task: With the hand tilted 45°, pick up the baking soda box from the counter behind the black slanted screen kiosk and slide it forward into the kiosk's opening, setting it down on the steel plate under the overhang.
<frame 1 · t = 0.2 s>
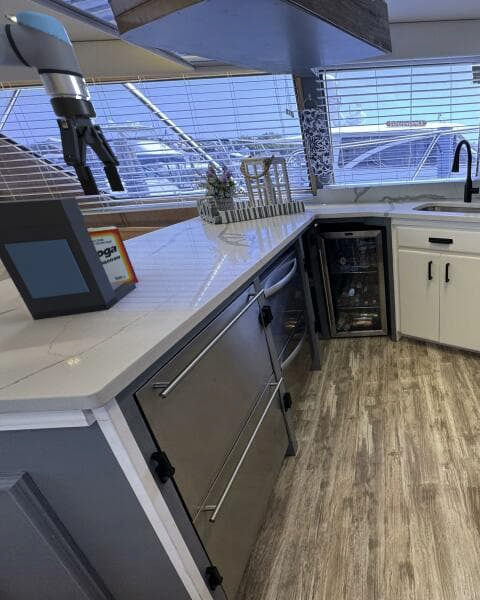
hand: (106, 193, 84), 25 cm above the worktop, tool pointing down, fingers open, 13 cm apart
slanted screen kiosk: (90, 301, 81), on the worktop
baking soda box: (116, 284, 93), on the worktop
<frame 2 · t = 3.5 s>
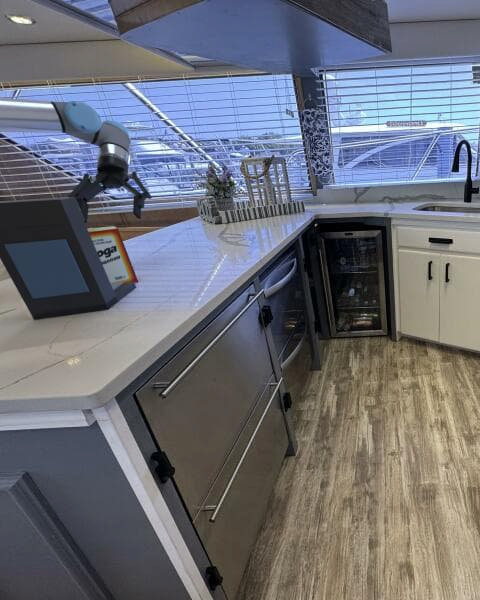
hand: (110, 218, 95), 17 cm above the worktop, tool tilted 45°, fingers open, 13 cm apart
nothing on the worktop moved.
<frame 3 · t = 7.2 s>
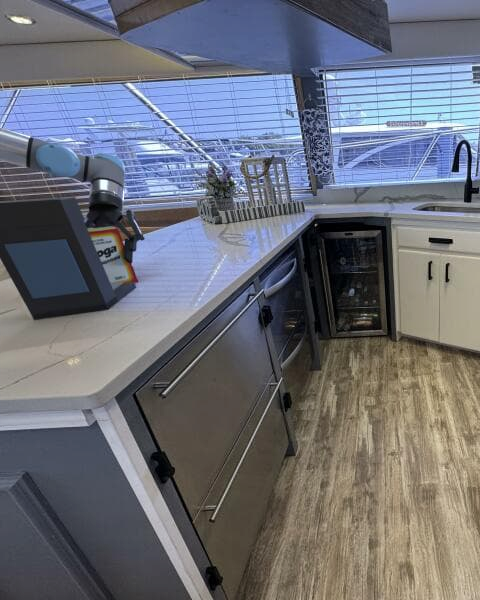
hand: (102, 263, 88), 7 cm above the worktop, tool tilted 45°, fingers closed on baking soda box, 11 cm apart
baking soda box: (116, 284, 93), on the worktop, touching gripper
when the fingers open (9 cm above the worktop, at t = 13.9 s): baking soda box stays where it is, resting on slanted screen kiosk.
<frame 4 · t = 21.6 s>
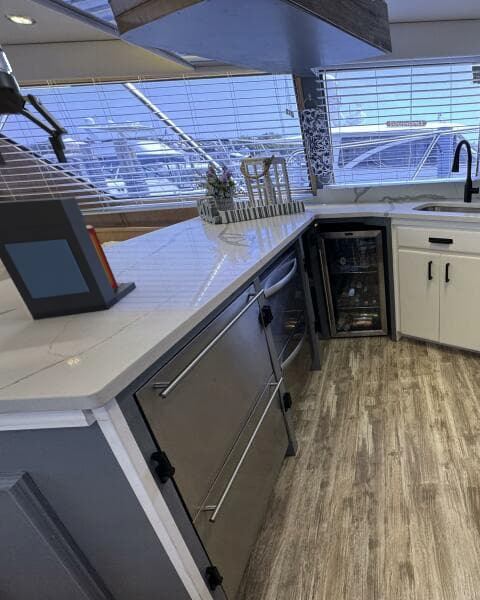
hand: (33, 164, 88), 33 cm above the worktop, tool pointing down, fingers open, 13 cm apart
baking soda box: (94, 291, 83), point 2 cm above the worktop, touching slanted screen kiosk
at the end: baking soda box 0.0 cm from the target spot on the slanted screen kiosk, point 1.8 cm above the slanted screen kiosk's base; baking soda box tilted 0°; the gripper is holding nothing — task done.
